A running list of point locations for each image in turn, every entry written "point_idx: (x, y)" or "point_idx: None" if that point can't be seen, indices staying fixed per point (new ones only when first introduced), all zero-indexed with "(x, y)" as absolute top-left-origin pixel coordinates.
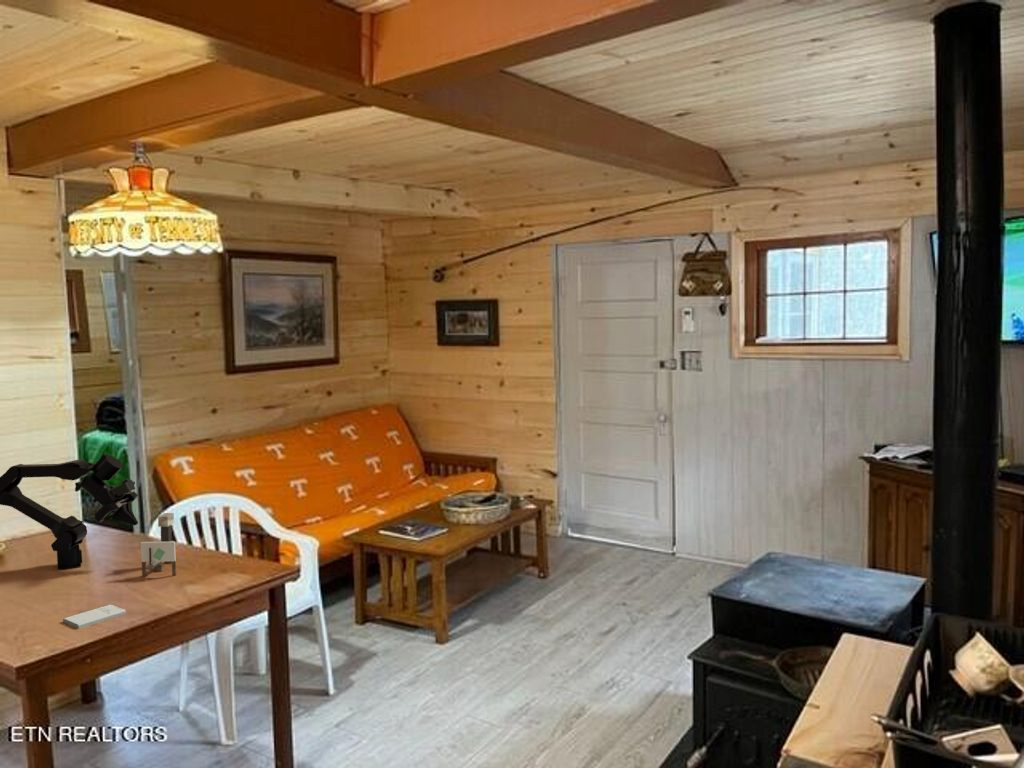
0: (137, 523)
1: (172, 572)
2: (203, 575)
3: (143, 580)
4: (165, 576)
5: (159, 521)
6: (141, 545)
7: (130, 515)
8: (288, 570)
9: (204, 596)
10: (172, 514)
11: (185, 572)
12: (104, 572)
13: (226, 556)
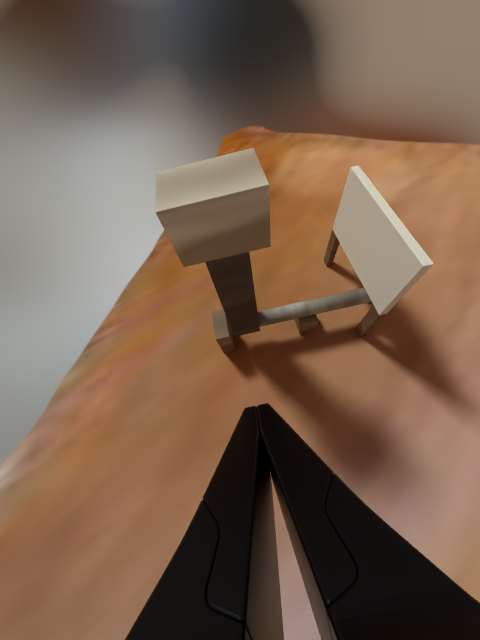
0: (257, 408)
1: (333, 258)
2: (307, 212)
3: (395, 309)
4: (342, 277)
5: (267, 213)
6: (422, 271)
7: (307, 474)
8: (246, 130)
9: (416, 151)
10: (176, 171)
11: (298, 253)
12: (388, 522)
13: (169, 242)
